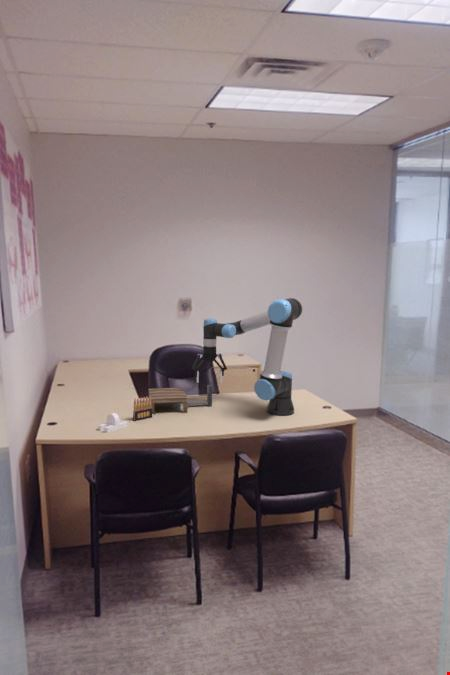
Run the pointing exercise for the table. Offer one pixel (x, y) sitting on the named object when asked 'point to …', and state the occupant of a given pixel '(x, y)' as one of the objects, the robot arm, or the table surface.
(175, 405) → the puck
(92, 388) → the table surface
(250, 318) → the robot arm
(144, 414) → the ammunition clip
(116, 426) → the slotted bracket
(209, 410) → the table surface
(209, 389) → the hook tool
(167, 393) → the bench
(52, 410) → the table surface
